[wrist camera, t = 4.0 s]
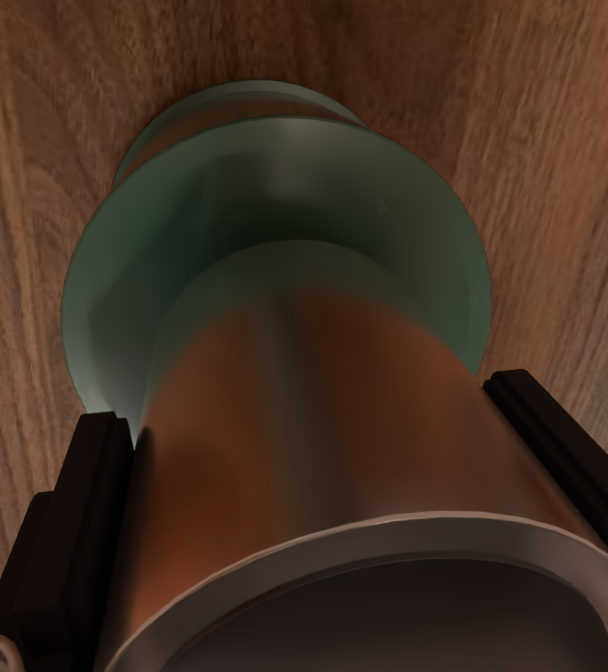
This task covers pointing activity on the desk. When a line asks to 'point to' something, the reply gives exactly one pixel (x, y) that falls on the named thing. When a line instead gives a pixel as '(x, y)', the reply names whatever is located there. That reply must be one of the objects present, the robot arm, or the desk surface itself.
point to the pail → (258, 225)
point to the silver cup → (337, 493)
